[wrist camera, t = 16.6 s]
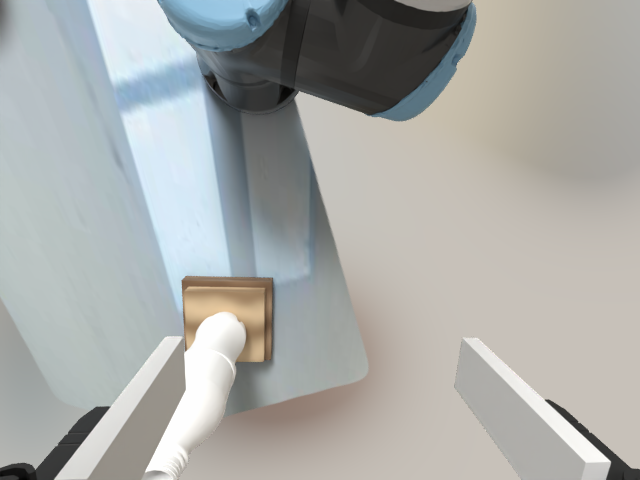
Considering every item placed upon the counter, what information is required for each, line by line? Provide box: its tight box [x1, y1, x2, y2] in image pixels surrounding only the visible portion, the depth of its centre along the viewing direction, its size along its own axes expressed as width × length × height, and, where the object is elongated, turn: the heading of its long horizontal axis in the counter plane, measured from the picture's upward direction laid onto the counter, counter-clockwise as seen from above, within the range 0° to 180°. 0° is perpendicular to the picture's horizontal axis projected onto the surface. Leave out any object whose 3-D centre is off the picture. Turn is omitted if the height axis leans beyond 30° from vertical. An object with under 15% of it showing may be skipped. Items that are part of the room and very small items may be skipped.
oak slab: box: [184, 287, 266, 362], centre depth 50 cm, size 12×12×2 cm
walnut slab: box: [182, 276, 273, 360], centre depth 52 cm, size 14×14×2 cm
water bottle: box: [141, 312, 246, 480], centre depth 37 cm, size 7×7×25 cm
